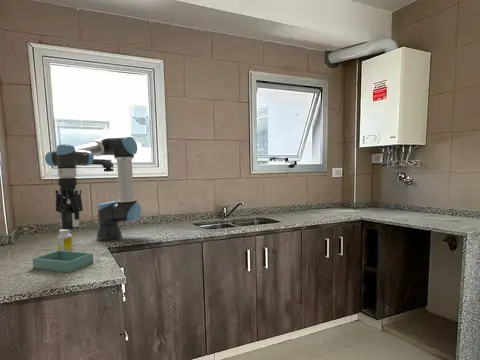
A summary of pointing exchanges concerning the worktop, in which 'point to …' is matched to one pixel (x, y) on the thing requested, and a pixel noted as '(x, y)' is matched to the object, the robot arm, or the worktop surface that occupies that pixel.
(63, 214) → the supplement bottle
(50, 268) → the green tray
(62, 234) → the supplement bottle
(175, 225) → the worktop surface
